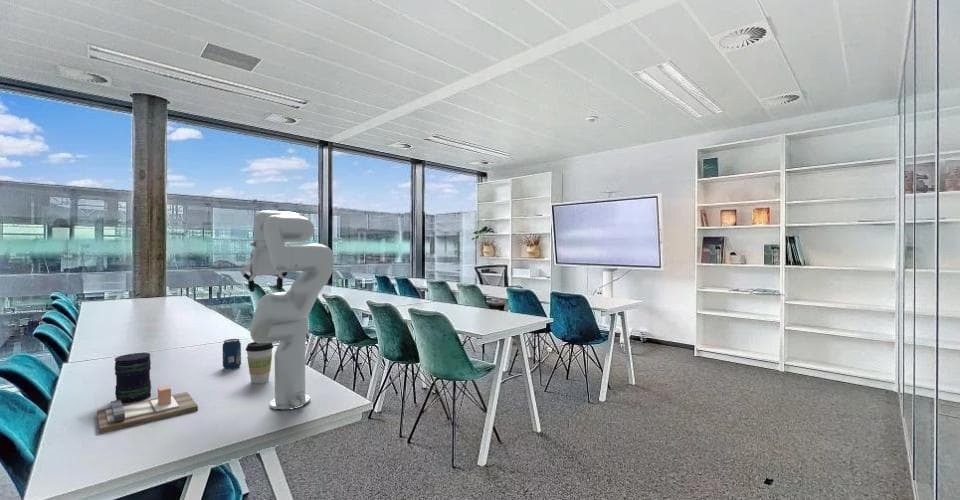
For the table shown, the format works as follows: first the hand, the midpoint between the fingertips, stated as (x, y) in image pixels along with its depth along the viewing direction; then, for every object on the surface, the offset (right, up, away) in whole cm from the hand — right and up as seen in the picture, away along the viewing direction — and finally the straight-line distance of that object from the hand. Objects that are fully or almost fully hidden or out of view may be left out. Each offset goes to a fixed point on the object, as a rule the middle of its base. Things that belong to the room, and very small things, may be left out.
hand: (265, 290), depth 162 cm
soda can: (-27, -36, +25) cm, 52 cm away
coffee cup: (-6, -37, +7) cm, 38 cm away
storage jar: (-41, -37, -12) cm, 56 cm away
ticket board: (-26, -37, -24) cm, 51 cm away
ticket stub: (-23, -36, -21) cm, 47 cm away
